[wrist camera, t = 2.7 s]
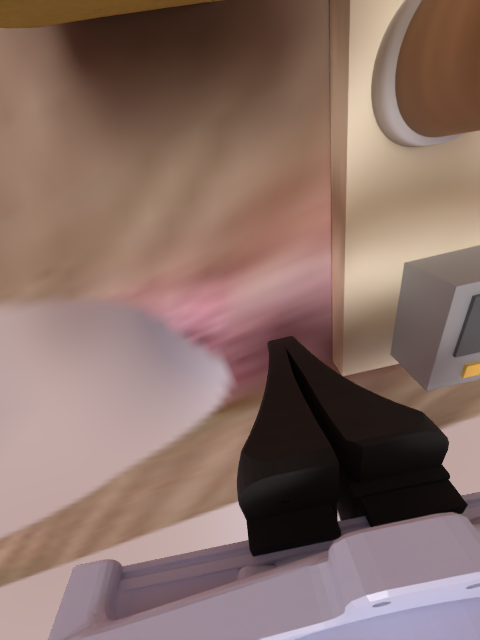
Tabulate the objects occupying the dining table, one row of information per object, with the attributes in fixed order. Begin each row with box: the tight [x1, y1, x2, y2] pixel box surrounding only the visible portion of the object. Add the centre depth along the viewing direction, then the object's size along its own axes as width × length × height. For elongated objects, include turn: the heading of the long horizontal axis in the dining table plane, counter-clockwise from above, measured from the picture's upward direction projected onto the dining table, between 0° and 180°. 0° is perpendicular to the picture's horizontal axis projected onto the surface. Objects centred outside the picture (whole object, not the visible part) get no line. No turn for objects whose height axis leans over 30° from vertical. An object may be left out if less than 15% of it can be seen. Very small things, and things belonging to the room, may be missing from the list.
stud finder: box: [390, 245, 480, 391], centre depth 12 cm, size 6×4×3 cm, turn 12°
